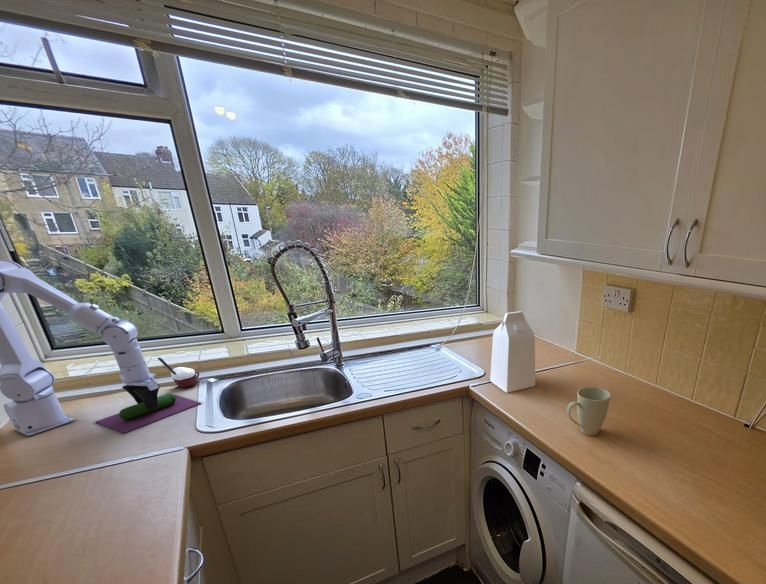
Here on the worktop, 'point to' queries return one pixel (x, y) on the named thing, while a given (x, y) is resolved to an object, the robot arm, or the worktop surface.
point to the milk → (513, 354)
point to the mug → (590, 409)
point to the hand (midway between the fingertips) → (148, 407)
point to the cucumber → (142, 409)
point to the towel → (147, 416)
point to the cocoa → (182, 375)
